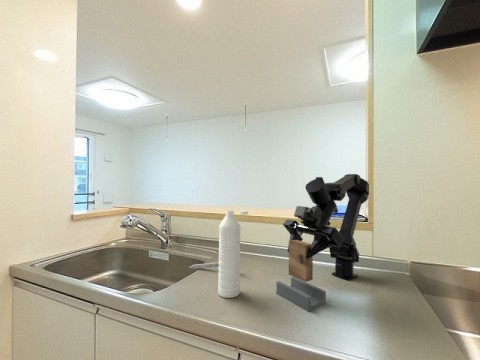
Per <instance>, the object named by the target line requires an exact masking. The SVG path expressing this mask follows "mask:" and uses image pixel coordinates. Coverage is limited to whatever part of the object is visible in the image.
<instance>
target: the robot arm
mask: <svg viewBox="0 0 480 360" xmlns="http://www.w3.org/2000/svg"><path fill="white" fill-rule="evenodd" d="M369 185H370V184H369V182H368V181H367V180H365V179H363V178H362V177H361V176H360V174H357V173H348V174H345V175H344V176H342V177H341V178H339V179H338V180H336V181H334V182H325V181H324V178H323V177H322V176H316V177H315V178H314V179H312V180H310V181H309V182H307V183H306V184H305V190H306V192H307V195H308V196H309V199H310V201H311V202H312V203H313V204H314V205H315V206H314V205H313V206H312V207H309V206H302V205H296V208H295V210H294V213H293V216H294V217H295V218H297V219H300V220H299V221H300V223H301V224H303V225H300V223H299V222H298V221H297V220H295V219H289V218H288V219H285V221H284V222H283V224H282V226H283V227H284V228H285V229H286V230H287V232H288V233H289V239H288V242H289V241H291V240H299V241H302V242H303V240H304V239H303V238H302V235H303V234H307V235H310V236H313V240H312V242H311V243H310V244H311V246H310V247H309V249H308V251H307V253H306V255H305V257H306V259H309V258H311V257H312V256H313V257H314V256H316V255H317V254H319V253H321V252H322V251H324V250H327V249H328V250H329V255H330V258H333V259H335V263H334V264H335V265H334V269H335V271H334V272H331V275H332V276H335V277H338V278H340V279H343V280H346V281H349V280H352V279H355V278H358V274H355V273H354V264H355V263H359V262H360V252H359V250H358V248H357V243H356V240H355V238H354V234H355V230H356V226H357V222H358V219H359V215H360V212H361V207H362V205H363V204H364V203H366V201H368V199H369V196H370V195H369ZM346 195H347V197H348V202H347V204H346V205H347V206H346V208H345V211H344V215H343V219H342V222H341V225H340V229H339V230H338V229H337V227H335V226H334V227H333V226H331V224H332V223H331V221H330V219H331V218H332V216H333V214H334V213H335V214H338V212H339V209H338V205H337V203H336V202H341V201H342V200H344V198H345V197H346ZM368 195H369V196H368ZM335 201H336V202H335ZM286 251H287V252H288V253H289V244H288V246H287V250H286Z"/></svg>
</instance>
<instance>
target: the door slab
mask: <svg viewBox="0 0 480 360" xmlns="http://www.w3.org/2000/svg"><path fill="white" fill-rule="evenodd" d="M311 244H312V243H309V242H305V241H303V240H302V241H299V240H291V241H289V240H288V245H289V252H288V275H289V276H291V277H295V278H297V279H300V280H302V281H304V282H306V283H308V282H310V281H313V276H314V275H313V265H314V262H313V260H314V256H312V257H311V258H309V259H306V257H305V255H306V253H307V251H308V249H309V247H310V246H311Z"/></svg>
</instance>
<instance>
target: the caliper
mask: <svg viewBox="0 0 480 360" xmlns="http://www.w3.org/2000/svg"><path fill="white" fill-rule="evenodd" d="M188 268H189V269H195V270H197V269H198V270H200V269H209V268H219V261H218V262H210V263H207V262H206V263H199V264H197V263H196V264H192V265H191V266H188Z"/></svg>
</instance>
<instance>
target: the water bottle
mask: <svg viewBox="0 0 480 360" xmlns="http://www.w3.org/2000/svg"><path fill="white" fill-rule="evenodd" d="M225 211H226V213H225V216H224V218H223V219H222V220H221V222H220V224H219V228H218V234H219V237H218V242H219V243H218V262H219V267H218V283H217V284H218V286H217V287H218V288H217V291H218V292H217V293H218V295H219V297H222V298H223V299H225V298H226V299H232V298H236V297H238V296H239V295H240V293H241V292H240V291H241V287H240V283H241V278H240V277H241V224H240V223H239V221H238V220H237V217H235V211H234V210H225ZM239 215H243V216H244V215H245V216H246V215H249V210H240V211H239Z"/></svg>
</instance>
